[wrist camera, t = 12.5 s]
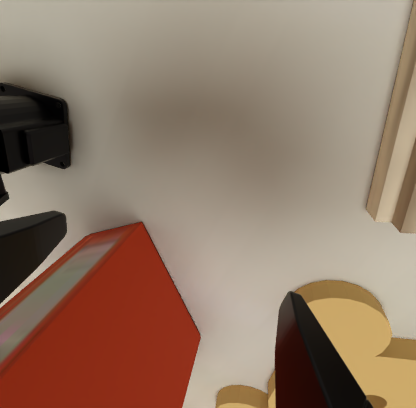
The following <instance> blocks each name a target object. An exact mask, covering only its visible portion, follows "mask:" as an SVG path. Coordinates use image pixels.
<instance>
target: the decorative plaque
mask: <svg viewBox="0 0 416 408" xmlns="http://www.w3.org/2000/svg"><path fill="white" fill-rule="evenodd" d="M295 293H298V294H300V295H301V296H302V297H303V299H304V300H305V302H306V303H307V305H308V306H309V308H310V309H311V311H312V313H313V314H314V316H315V317H316V319H317V320H318V322H319V323H320V325H321V327H322V328H323V330H324V331H325V333H326V334H327V336H328V337H329V339H330V341H331V342H332V344H333V345H334V347H335V348H336V350H337V351H338V353H339V355H340V356H341V358H342V359H343V361H344V362H345V364H346V366H347V367H348V369H349V370H350V372H351V373H352V375H353V376H354V378H355V380H356V381H357V383H358V384H359V386H360V387H361V389H362V390H363V392H364V394H365V395H366V397H367V399H368V400H369V401H370V403H371V404H372V406H373V407H374V408H416V340H411V339H400V338H391V336H392V331H391V328H390V324H389V321H388V319H387V317H386V315H385V313H384V311H383V309H382V307H381V305H380V303H379V302H378V300H377V299H376V298H375V297H374V296H373V295H372V294H371V293H370V292H369V291H367V290H365V289H363V288H362V287H360V286H358V285H355V284H351V283H348V282H344V281H331V280H325V281H319V282H314V283H310V284H307V285H305V286H303V287H301V288H299V289H297V290H296V291H295ZM215 408H276V406H275V370H274V372H273V374H272V376H271V378H270V380H269V381H268V394H266V393H264V392H263V391H261V390H258V389H255V388H252V387H248V386H242V385H231V386H227V387H224V388H223V389H221V390H220V391H219V393H218V396H217V401H216V407H215Z"/></svg>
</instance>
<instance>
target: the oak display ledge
mask: <svg viewBox="0 0 416 408" xmlns="http://www.w3.org/2000/svg"><path fill="white" fill-rule="evenodd" d="M366 210H367V211H368V213H369V214H370V215H371V217H372V218H373V219H374V221H375V222H392V223H393V225H394V226H395V227H396V228H397V229H398V230H399V232H400V233H416V0H414V2H413V7H412V11H411V15H410V20H409V24H408V28H407V33H406V37H405V41H404V46H403V50H402V54H401V59H400V63H399V68H398V72H397V76H396V81H395V85H394V89H393V94H392V98H391V102H390V107H389V111H388V115H387V120H386V124H385V129H384V133H383V137H382V142H381V146H380V150H379V155H378V159H377V163H376V168H375V172H374V176H373V181H372V185H371V190H370V194H369V198H368V203H367V207H366Z"/></svg>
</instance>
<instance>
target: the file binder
mask: <svg viewBox="0 0 416 408" xmlns="http://www.w3.org/2000/svg"><path fill="white" fill-rule="evenodd" d="M200 338H201V337H200V334H199V332H198V330H197V328H196V326H195V324H194V322H193V321H192V319H191V317H190V315H189V313H188V311H187V309H186V307H185V305H184V303H183V301H182V299H181V297H180V295H179V293H178V291H177V289H176V287H175V286H174V284H173V282H172V280H171V278H170V276H169V274H168V272H167V270H166V268H165V266H164V264H163V262H162V260H161V258H160V256H159V254H158V252H157V251H156V249H155V247H154V245H153V243H152V241H151V239H150V237H149V235H148V233H147V231H146V229H145V227H144V225H143V223H142V222H139V223H135V224H130V225H126V226H122V227H118V228H114V229H110V230H106V231H102V232H97V233H93V234H90V235H88V236H85V237H84V238H83V239H82V240H81V241H79V242H78V243H77V244H76V245H75V246H74V247H72V248H71V249H70V250H69V251H68V252H66V253H65V254H64V255H63V256H62V257H60V258H59V259H58V260H57V261H56V262H55V263H53V264H52V265H51V266H50V267H49V268H47V269H46V270H45V271H44V272H43V273H41V274H40V275H39V276H38V277H37V278H36V279H34V280H33V281H32V282H31V283H30V284H28V285H27V286H26V287H25V288H24V289H22V290H21V291H20V292H19V293H18V294H17V295H15V296H14V297H13V298H12V299H11V300H9V301H8V302H7V303H6V304H5V305H4V306H2V307H1V308H0V408H182V406H183V402H184V399H185V395H186V391H187V387H188V383H189V380H190V376H191V372H192V368H193V365H194V361H195V357H196V353H197V350H198V346H199V342H200Z"/></svg>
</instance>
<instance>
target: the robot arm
mask: <svg viewBox="0 0 416 408" xmlns="http://www.w3.org/2000/svg"><path fill="white" fill-rule="evenodd" d="M59 103H60V105H61V107H60V106H59ZM63 162H64V164H65V165H64V164H63ZM40 163H46V164H49V165H52V166H55V167H58V168H62V169H66V168H68V167H69V166H70V157H69V139H68V120H67V105H66V103H65V101H64V100H63V99H60V98H57V97H53V96H50V95H46V94H43V93H40V92H36V91H33V90H29V89H26V88H22V87H19V86H15V85H12V84H9V83H0V206H1V205H2V204H3V203H4V202H6V201H7V200H8V199H9V195H8V192H6V190H5V187H4V183H3V180H2V177H1V174H4V173H7V174H9V173H12V172H15V171H17V170H20V169H23V168H26V167H29V166H34V165H37V164H40ZM66 233H67V223H66V216H65V214H64V213H61V212H58V211H50V212H45V213H40V214H35V215H30V216H25V217H21V218H16V219H11V220H6V221H1V222H0V304H1V302H3V301H4V300H5V298H7V297H8V296H9V295H10V294H11V293H12V292H13V291H14V290H15V289H16V288H17V287H18V286H19V285H20V284H21V283H22V282H23V281H24V280H25V279H26V278H27V277H29V276H30V275H31V274H32V273H33V272H34V271H35V270H36V269H37V268H38V267H39V266H40V264H41V263H42V262H43V261H44V260H45V259H46V258H47V256H48V255H49V254H50V253H51V252H52V251H53V249H54V248H55V247H56V246H57V245H58V244H59V242H60V241H61V240H62V239H63V238H64V237H65V235H66ZM275 406H276V408H374V407H373V406H372V404H371V403H370V401H369V400H368V399H367V397H366V395H365V394H364V392H363V390H362V389H361V387H360V386H359V384H358V383H357V381H356V380H355V378H354V376H353V375H352V373H351V372H350V370H349V369H348V367H347V366H346V364H345V362H344V361H343V359H342V358H341V356H340V355H339V353H338V351H337V350H336V348H335V347H334V345H333V344H332V342H331V341H330V339H329V337H328V336H327V334H326V333H325V331H324V330H323V328H322V327H321V325H320V323H319V322H318V320H317V319H316V317H315V316H314V314H313V313H312V311H311V309H310V308H309V306H308V305H307V303H306V302H305V300H304V299H303V297H302V296H301V295H300V294H298V293H295V292H292V291H289V292H288V293H287V295H286V297H285V298H284V300H283V302H282V304H281V306H280V309H279V316H278V326H277V336H276V346H275Z"/></svg>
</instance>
